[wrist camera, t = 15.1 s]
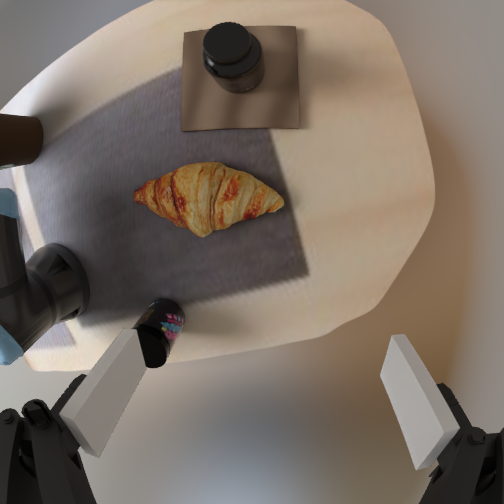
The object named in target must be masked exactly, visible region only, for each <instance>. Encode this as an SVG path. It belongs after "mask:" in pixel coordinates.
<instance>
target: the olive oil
mask: <svg viewBox="0 0 504 504" xmlns="http://www.w3.org/2000/svg"><path fill="white" fill-rule="evenodd" d="M42 142H43V129H42V125H41V123H40V121H39V120H38V119H37V118H35V117H29V116H18V115H9V114H0V170H2V169H6V168H11V167H16V166H21V165H27V164H30V163H32V162H33V161H34V160H35V159H36V158H37V156H38V154H39V152H40V150H41V146H42Z"/></svg>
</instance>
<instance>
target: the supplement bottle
mask: <svg viewBox="0 0 504 504" xmlns="http://www.w3.org/2000/svg"><path fill="white" fill-rule="evenodd" d="M201 59H202V63H203V65H204V67H205V69H206V70H207V71H208V72H209V74H210V75H211V76H212V77H213V79H214V80H215V81H216V82H217V84H218V85H219V86H220V87H221V88H223V89H224V90H226V91H228V92H230V93H235V94H242V93H247V92H250V91H252V90H253V89H255V88H256V87H257V86H258V85H259V84H260V83H261V82H262V80H263V78H264V74H265V66H264V56H263V48H262V45H261V43H260V41H259V39H258V38H257V37H256V36H255V35H254V34H253V33H251V32H250V31H248V30H247V29H246V28H244V27H243V26H242V25H240V24H237V23H235V22H234V23H232V22H224V23H220V24H217V25H215V26H213V27H212V28H211V29H209V31H208V32H206V35H205V36H204V39H203V48H202V52H201Z"/></svg>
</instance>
